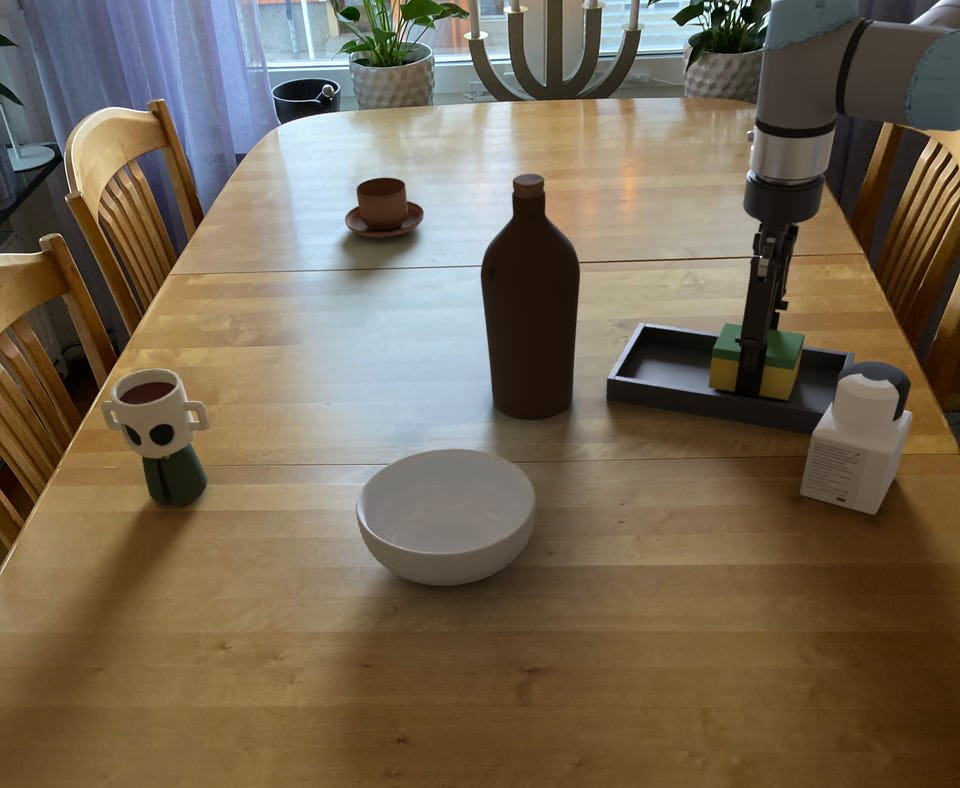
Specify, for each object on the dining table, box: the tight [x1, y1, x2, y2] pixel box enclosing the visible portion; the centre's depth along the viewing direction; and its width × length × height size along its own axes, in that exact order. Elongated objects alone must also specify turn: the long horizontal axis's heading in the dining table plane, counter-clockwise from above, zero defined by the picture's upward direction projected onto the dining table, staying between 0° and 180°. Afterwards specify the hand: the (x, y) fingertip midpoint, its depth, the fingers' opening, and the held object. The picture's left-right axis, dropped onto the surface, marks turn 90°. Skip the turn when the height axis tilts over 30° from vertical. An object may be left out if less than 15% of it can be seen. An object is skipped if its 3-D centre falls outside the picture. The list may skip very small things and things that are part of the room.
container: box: [799, 360, 914, 516], centre depth 98 cm, size 8×8×13 cm
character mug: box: [99, 367, 211, 506], centre depth 104 cm, size 11×7×13 cm, turn 85°
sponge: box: [708, 322, 806, 400], centre depth 113 cm, size 9×6×5 cm, turn 68°
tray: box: [605, 321, 856, 435], centre depth 116 cm, size 26×14×3 cm, turn 68°
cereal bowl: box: [355, 448, 537, 587], centre depth 96 cm, size 17×17×7 cm
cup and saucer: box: [344, 177, 425, 239], centre depth 151 cm, size 12×12×6 cm
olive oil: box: [480, 173, 581, 420], centre depth 109 cm, size 11×11×25 cm
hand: (753, 378), depth 115 cm, fingers closed on sponge, 6 cm apart
